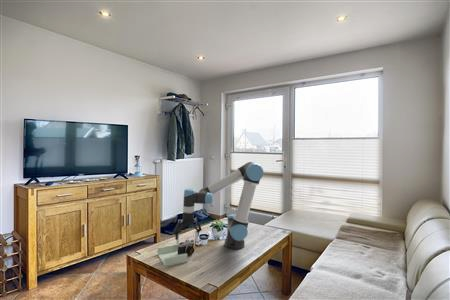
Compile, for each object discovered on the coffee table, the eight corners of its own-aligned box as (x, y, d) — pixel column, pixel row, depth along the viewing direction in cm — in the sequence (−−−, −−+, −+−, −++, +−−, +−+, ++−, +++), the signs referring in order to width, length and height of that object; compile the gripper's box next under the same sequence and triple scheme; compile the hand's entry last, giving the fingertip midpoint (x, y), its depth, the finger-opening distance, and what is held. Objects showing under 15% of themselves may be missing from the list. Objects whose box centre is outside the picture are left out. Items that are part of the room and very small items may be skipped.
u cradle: (177, 250, 169) (177, 243, 169) (187, 262, 153) (187, 254, 153) (157, 254, 162) (157, 247, 162) (165, 267, 146) (165, 258, 146)
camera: (183, 258, 157) (185, 244, 158) (175, 253, 162) (178, 240, 163) (197, 254, 167) (199, 241, 167) (190, 250, 172) (192, 237, 173)
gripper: (202, 208, 174) (201, 238, 174) (169, 212, 162) (167, 243, 162) (207, 211, 168) (205, 241, 168) (172, 215, 155) (170, 247, 155)
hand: (187, 242), depth 165 cm, fingers open, 13 cm apart
